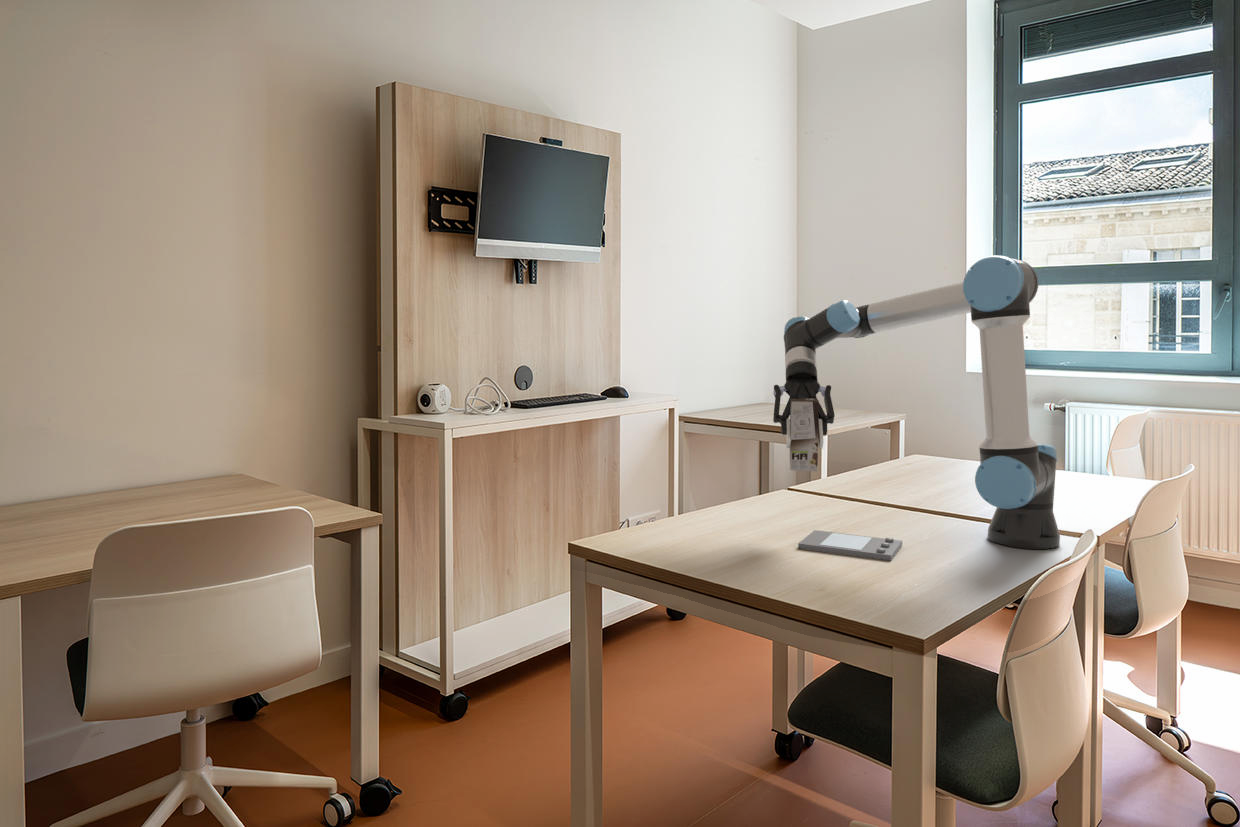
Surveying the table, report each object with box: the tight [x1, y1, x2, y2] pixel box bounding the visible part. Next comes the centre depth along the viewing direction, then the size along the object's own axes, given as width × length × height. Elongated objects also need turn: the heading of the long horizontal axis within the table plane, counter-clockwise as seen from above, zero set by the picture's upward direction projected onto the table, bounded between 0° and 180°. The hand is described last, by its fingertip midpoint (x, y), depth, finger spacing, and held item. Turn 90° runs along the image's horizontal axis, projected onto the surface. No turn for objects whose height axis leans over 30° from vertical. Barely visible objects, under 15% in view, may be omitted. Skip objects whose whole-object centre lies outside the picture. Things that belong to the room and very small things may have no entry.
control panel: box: [797, 529, 903, 561], centre depth 192 cm, size 20×14×2 cm
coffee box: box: [789, 397, 820, 472], centre depth 199 cm, size 9×6×16 cm
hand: (805, 444), depth 195 cm, fingers closed on coffee box, 7 cm apart
